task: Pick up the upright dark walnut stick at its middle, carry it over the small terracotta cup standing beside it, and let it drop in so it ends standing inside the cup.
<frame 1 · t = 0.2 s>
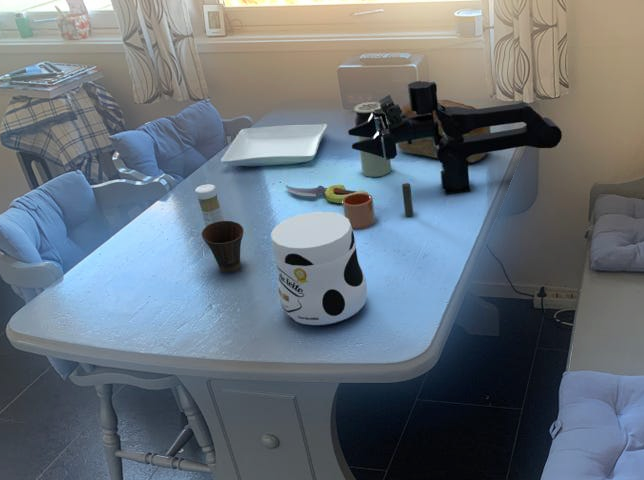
hand: (350, 139, 184), 17 cm above the table, tool horizontal, fingers open, 9 cm apart
milk container: (327, 310, 153), on the table
square plate: (278, 153, 226), on the table
cup: (232, 270, 169), on the table
walnut stick: (409, 215, 185), on the table
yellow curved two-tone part: (324, 197, 198), on the table
bread: (444, 154, 217), on the table
sprinkles bottle: (219, 241, 182), on the table
travel mug: (377, 172, 209), on the table
terracotta cup: (360, 222, 184), on the table
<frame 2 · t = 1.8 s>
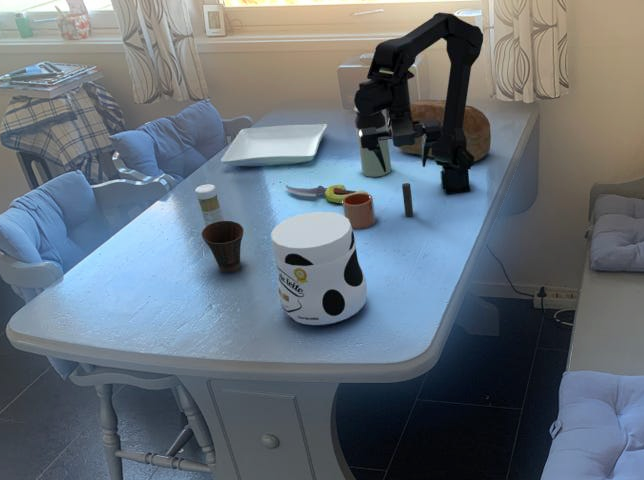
hand: (404, 169, 179), 12 cm above the table, tool pointing down, fingers open, 9 cm apart
nothing on the table moved.
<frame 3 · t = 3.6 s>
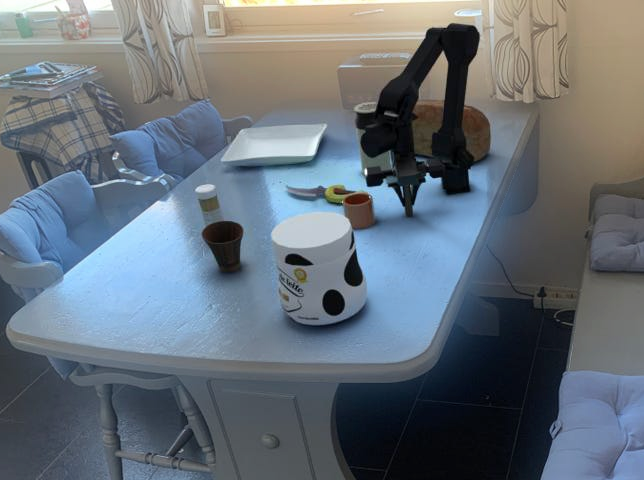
hand: (408, 205, 184), 3 cm above the table, tool pointing down, fingers closed on walnut stick, 2 cm apart
walnut stick: (409, 215, 185), on the table, touching gripper
everything else where it was.
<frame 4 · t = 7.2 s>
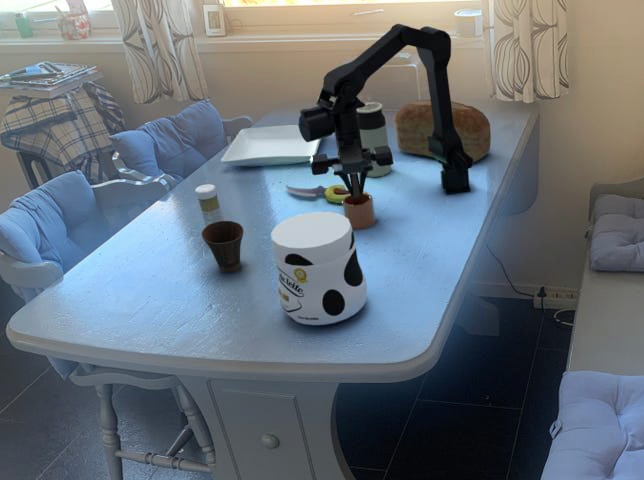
hand: (356, 194, 180), 7 cm above the table, tool pointing down, fingers closed on walnut stick
walnut stick: (358, 204, 182), point 5 cm above the table, touching gripper
everything else where it was.
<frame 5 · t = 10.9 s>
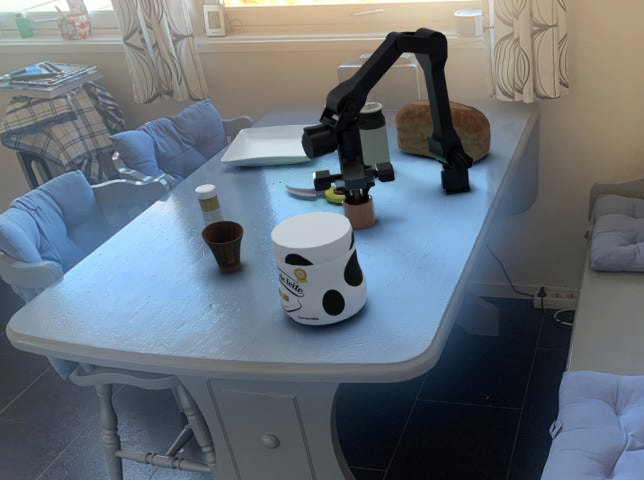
hand: (358, 209, 182), 3 cm above the table, tool pointing down, fingers closed on walnut stick, 2 cm apart
walnut stick: (360, 219, 184), point 1 cm above the table, touching gripper
everything else where it was.
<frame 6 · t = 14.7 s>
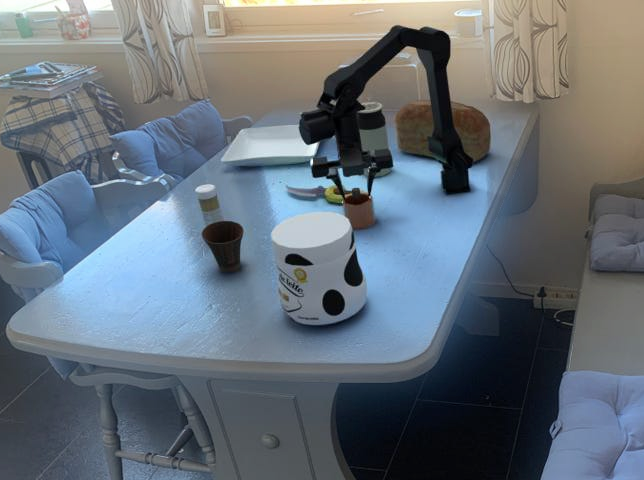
hand: (356, 197, 180), 6 cm above the table, tool pointing down, fingers open, 6 cm apart
walnut stick: (360, 220, 184), point 1 cm above the table, touching terracotta cup
everything else where it was.
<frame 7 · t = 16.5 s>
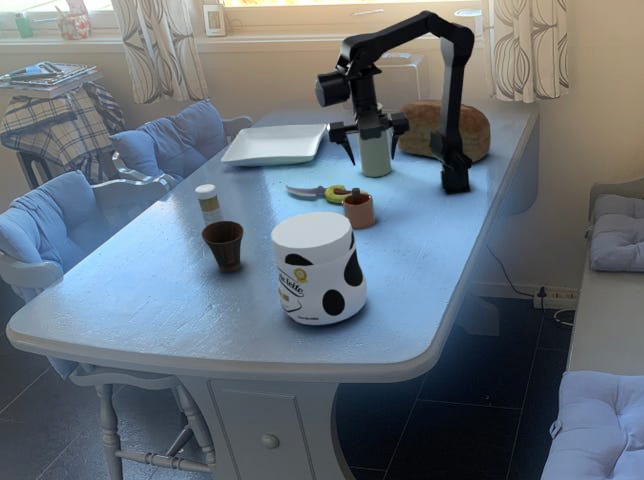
hand: (373, 162, 181), 13 cm above the table, tool pointing down, fingers open, 9 cm apart
nothing on the table moved.
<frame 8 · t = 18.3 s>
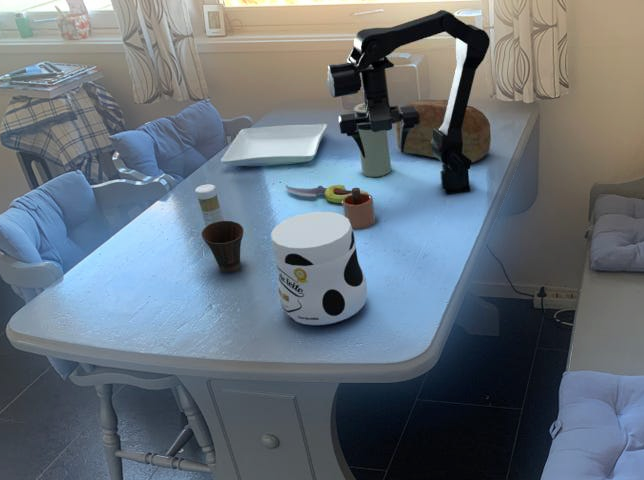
hand: (383, 154, 184), 13 cm above the table, tool pointing down, fingers open, 9 cm apart
nothing on the table moved.
at the end: walnut stick 0.1 cm off-centre in the terracotta cup, point 0.6 cm above the terracotta cup's base; the gripper is holding nothing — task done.
